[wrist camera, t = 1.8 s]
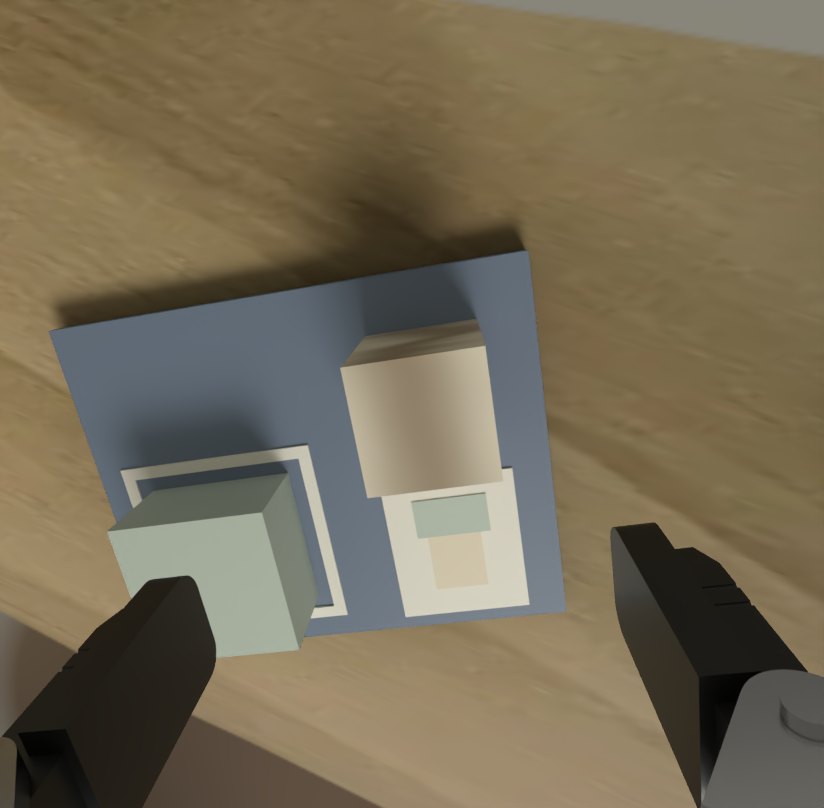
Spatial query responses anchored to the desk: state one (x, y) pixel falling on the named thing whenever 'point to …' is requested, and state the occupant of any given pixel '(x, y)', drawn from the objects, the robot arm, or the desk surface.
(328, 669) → the desk surface
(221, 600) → the base block
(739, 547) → the desk surface
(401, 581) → the build board
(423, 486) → the maple block
